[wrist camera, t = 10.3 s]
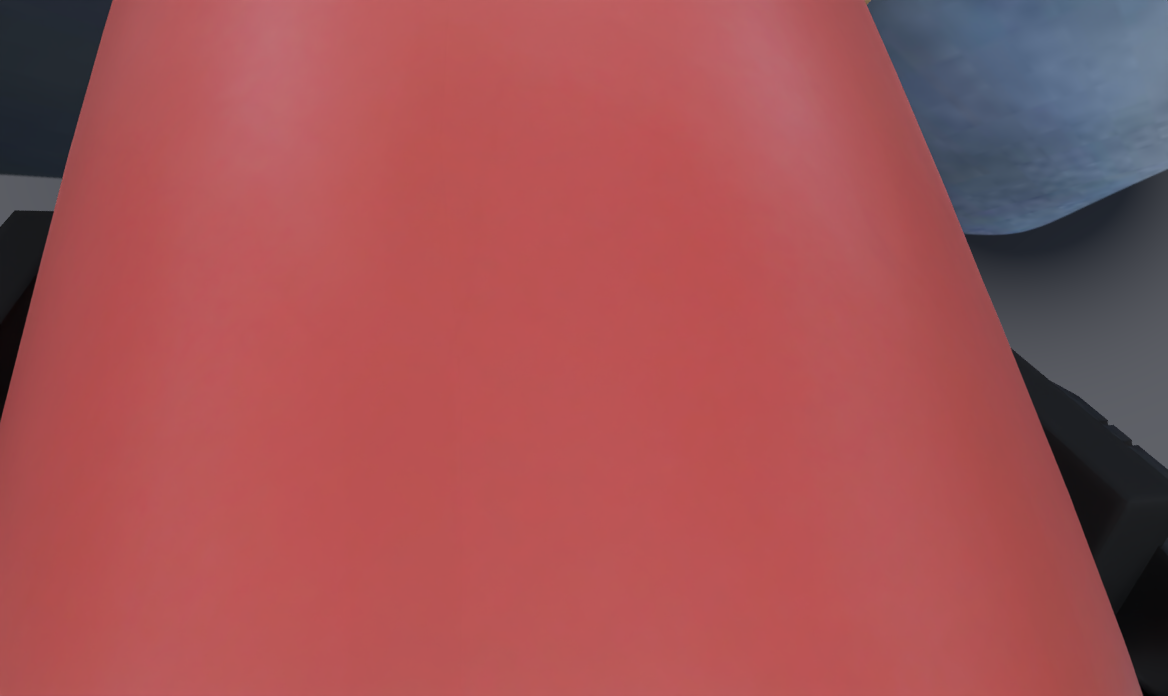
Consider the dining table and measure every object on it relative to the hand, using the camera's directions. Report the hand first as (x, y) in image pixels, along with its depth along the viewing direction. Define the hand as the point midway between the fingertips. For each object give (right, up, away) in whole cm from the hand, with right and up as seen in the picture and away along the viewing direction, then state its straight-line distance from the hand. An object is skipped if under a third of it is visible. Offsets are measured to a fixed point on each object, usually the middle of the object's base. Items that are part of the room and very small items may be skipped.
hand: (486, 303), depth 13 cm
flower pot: (0, +5, -2) cm, 5 cm away
